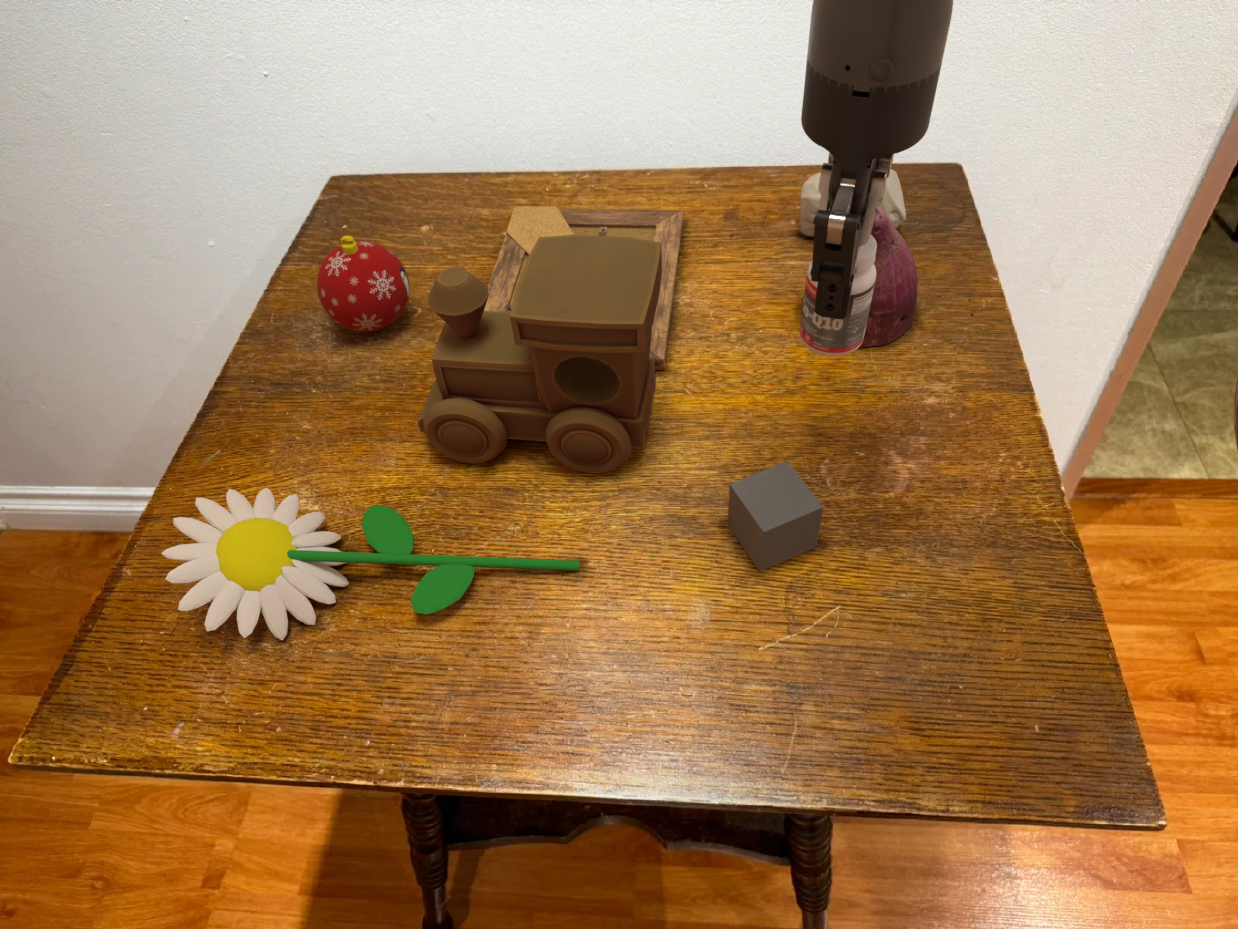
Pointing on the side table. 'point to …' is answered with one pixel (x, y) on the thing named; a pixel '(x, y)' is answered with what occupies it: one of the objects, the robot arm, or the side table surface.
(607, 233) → the picture frame
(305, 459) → the side table surface
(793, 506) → the grey block
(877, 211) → the vegetable
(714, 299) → the side table surface
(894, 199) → the decorative stone
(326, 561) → the decorative flower
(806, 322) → the pill bottle
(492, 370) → the wooden toy train
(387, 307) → the christmas ornament
